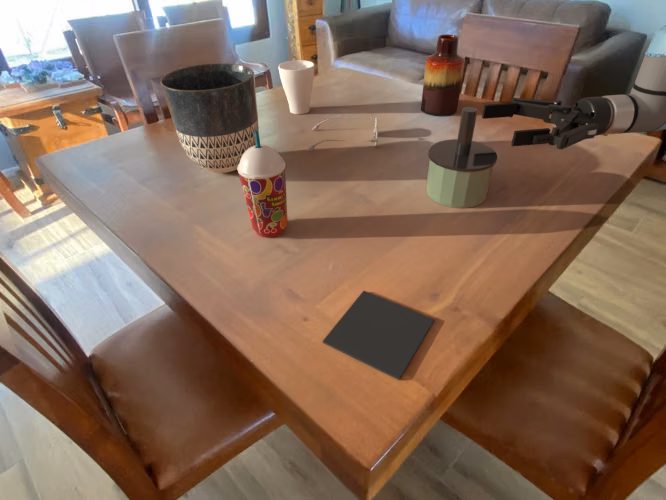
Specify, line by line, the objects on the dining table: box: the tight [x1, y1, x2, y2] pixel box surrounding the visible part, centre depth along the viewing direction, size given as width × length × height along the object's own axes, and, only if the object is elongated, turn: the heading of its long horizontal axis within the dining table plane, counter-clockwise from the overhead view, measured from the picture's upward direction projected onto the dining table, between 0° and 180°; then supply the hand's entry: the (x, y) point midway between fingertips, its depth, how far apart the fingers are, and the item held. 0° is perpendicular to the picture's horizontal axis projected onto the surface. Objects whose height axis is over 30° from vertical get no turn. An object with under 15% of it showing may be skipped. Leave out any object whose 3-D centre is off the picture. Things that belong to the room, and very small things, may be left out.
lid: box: [427, 106, 499, 172], centre depth 84 cm, size 14×14×10 cm
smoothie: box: [236, 130, 288, 238], centre depth 77 cm, size 8×8×20 cm
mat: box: [322, 290, 435, 381], centre depth 62 cm, size 12×12×1 cm
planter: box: [159, 62, 260, 174], centre depth 97 cm, size 20×20×21 cm
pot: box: [425, 158, 495, 209], centre depth 89 cm, size 13×13×8 cm
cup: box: [277, 59, 315, 115], centre depth 128 cm, size 10×10×14 cm
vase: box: [420, 33, 466, 117], centre depth 123 cm, size 11×11×20 cm
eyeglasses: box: [306, 116, 379, 152], centre depth 113 cm, size 15×18×4 cm
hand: (497, 124), depth 83 cm, fingers open, 13 cm apart
